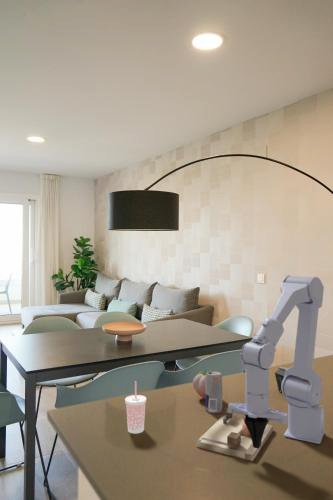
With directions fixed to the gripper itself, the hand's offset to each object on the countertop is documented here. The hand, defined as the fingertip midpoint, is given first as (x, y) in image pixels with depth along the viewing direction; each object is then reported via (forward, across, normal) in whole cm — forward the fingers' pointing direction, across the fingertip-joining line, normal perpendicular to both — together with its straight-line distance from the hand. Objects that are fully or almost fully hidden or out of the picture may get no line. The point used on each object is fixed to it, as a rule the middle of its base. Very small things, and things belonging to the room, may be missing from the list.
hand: (257, 446), depth 102 cm
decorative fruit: (+3, -27, +31) cm, 41 cm away
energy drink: (+3, -21, +23) cm, 31 cm away
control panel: (+3, -8, +8) cm, 11 cm away
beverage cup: (+3, -35, -1) cm, 35 cm away
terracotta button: (+2, -5, +9) cm, 11 cm away
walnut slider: (+1, -6, 0) cm, 6 cm away
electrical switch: (+3, -3, +49) cm, 49 cm away
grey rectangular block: (+1, -13, +14) cm, 19 cm away
